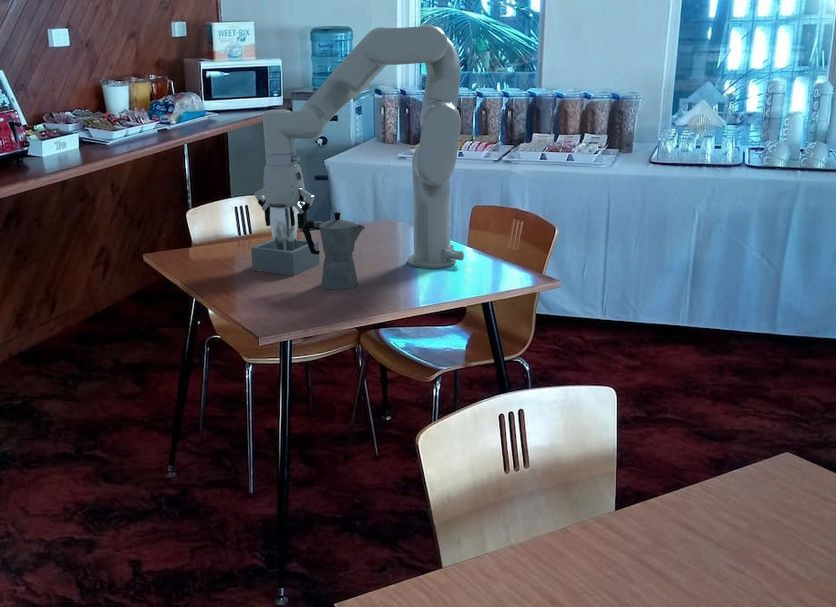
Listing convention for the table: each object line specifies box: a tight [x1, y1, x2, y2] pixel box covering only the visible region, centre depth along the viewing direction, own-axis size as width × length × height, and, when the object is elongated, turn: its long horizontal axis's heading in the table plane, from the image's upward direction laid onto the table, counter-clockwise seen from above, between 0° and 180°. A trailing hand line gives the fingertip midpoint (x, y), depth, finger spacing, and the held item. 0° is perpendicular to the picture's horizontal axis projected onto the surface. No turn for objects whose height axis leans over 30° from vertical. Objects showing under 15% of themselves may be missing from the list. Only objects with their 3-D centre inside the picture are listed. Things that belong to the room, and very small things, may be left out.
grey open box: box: [250, 238, 320, 277], centre depth 237 cm, size 12×12×6 cm
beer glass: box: [269, 204, 298, 251], centre depth 236 cm, size 7×7×15 cm
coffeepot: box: [302, 211, 366, 291], centre depth 220 cm, size 15×9×18 cm, turn 78°
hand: (286, 226), depth 235 cm, fingers open, 9 cm apart
